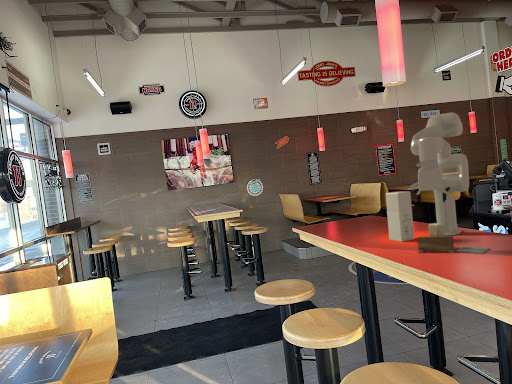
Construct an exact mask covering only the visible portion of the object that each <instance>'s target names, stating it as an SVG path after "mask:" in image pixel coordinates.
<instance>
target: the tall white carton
mask: <svg viewBox="0 0 512 384" xmlns="http://www.w3.org/2000/svg"><path fill="white" fill-rule="evenodd" d="M385 202H386V214H387V215H386V216H387V226H388V237H389V241H395V242H401V243H402V242H407V241H412V239H413V240H415V232H414V221H413V208H412V207H413V206H412V195H411V191H391V192H386V193H385Z"/></svg>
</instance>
